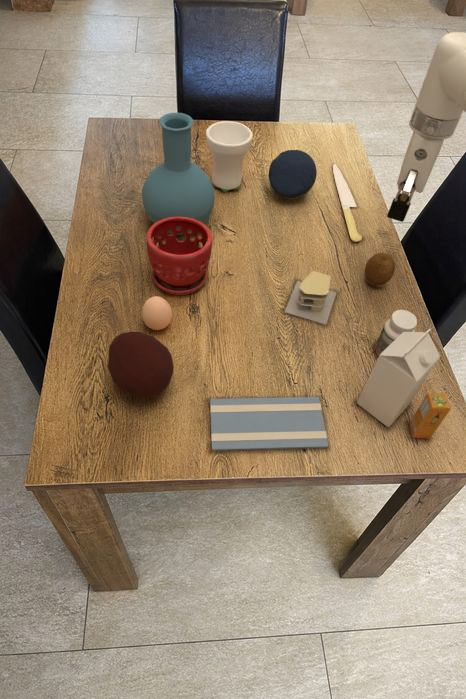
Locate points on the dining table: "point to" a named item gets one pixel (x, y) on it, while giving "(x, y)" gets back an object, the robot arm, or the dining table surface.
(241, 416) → the towel
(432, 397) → the supplement box
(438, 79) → the robot arm
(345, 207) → the knife
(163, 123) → the vase
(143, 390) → the potato
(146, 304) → the egg
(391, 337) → the pill bottle
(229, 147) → the cup
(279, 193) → the decorative stone
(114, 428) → the dining table surface
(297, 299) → the stacked layers on plate
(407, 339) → the milk carton
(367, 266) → the fruit
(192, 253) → the flower pot
